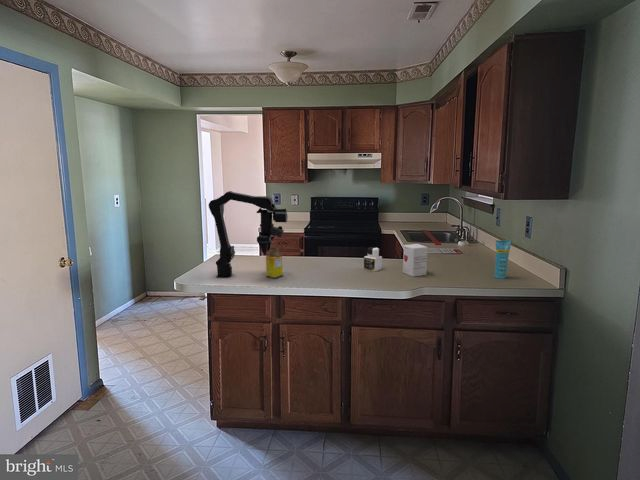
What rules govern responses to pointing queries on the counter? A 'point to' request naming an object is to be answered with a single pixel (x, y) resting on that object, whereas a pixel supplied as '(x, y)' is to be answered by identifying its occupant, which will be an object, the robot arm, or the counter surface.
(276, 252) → the walnut cube
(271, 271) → the supplement box
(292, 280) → the counter surface
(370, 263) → the medicine bottle
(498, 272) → the tube
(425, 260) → the supplement box
